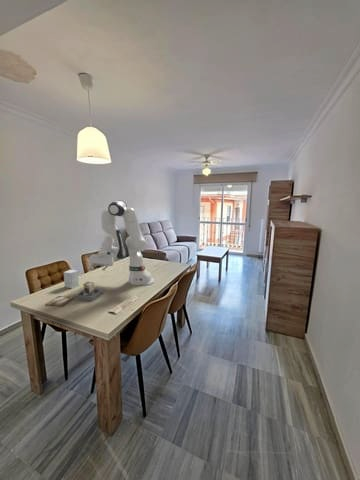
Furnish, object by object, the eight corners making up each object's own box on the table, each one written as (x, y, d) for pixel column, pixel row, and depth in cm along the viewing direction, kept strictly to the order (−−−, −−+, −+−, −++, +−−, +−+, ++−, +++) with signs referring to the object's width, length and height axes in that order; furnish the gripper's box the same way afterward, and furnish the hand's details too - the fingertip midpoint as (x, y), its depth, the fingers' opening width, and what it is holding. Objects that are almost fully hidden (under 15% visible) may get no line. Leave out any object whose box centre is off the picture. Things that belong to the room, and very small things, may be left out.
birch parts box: (94, 295, 147) (93, 282, 145) (90, 298, 142) (89, 284, 140) (88, 294, 147) (87, 281, 146) (83, 297, 142) (82, 284, 141)
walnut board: (74, 298, 141) (74, 297, 141) (62, 306, 129) (62, 305, 129) (59, 296, 142) (58, 295, 142) (45, 304, 131) (45, 303, 131)
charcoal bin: (102, 293, 150) (102, 289, 149) (92, 301, 137) (92, 297, 137) (86, 291, 152) (86, 288, 151) (75, 299, 139) (74, 295, 139)
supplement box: (79, 285, 164) (78, 270, 162) (72, 288, 157) (71, 273, 155) (71, 284, 166) (70, 269, 164) (64, 287, 159) (63, 272, 157)
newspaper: (131, 297, 146) (131, 295, 145) (139, 299, 143) (139, 297, 143) (108, 313, 124) (108, 310, 124) (117, 315, 121) (117, 313, 121)
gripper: (90, 251, 161) (83, 266, 153) (114, 253, 158) (108, 268, 150) (93, 255, 166) (86, 270, 158) (116, 257, 163) (111, 272, 155)
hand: (97, 269), depth 154 cm, fingers open, 8 cm apart
